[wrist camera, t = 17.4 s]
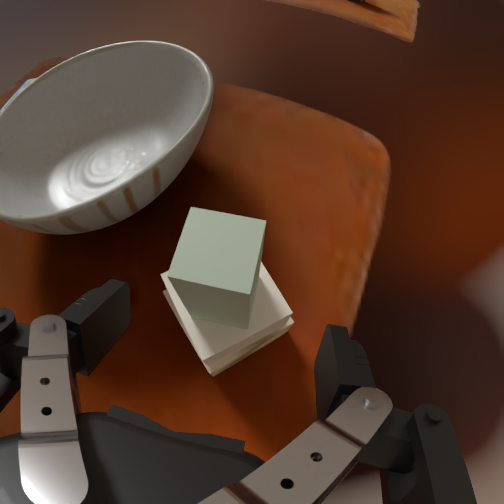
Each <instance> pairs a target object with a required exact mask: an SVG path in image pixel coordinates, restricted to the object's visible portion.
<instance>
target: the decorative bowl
mask: <svg viewBox="0 0 504 504" xmlns="http://www.w3.org/2000/svg"><path fill="white" fill-rule="evenodd" d="M213 92H214V84H213V78H212V74H211V72H210V70H209V68H208V66H207V65H206V63H205V62H204V61H203V60H202V59H201V58H200V57H199V56H198V55H196V54H195V53H193V52H192V51H190V50H188V49H186V48H184V47H181V46H178V45H175V44H171V43H167V42H160V41H129V42H122V43H116V44H111V45H107V46H103V47H99V48H96V49H93V50H90V51H87V52H84V53H82V54H79V55H77V56H75V57H73V58H70V59H68V60H66V61H64V62H62V63H60V64H59V65H57V66H55V67H53V68H52V69H50V70H48V71H47V72H45V73H44V74H42V75H41V76H39V77H38V78H37V79H35V80H34V81H33V82H31V83H30V84H29V85H28V86H27V87H25V88H24V89H23V90H22V91H21V92H20V93H19V94H18V95H17V96H16V97H15V98H14V99H13V100H12V101H11V102H10V103H9V104H8V105H7V106H6V107H5V109H4V110H3V111H2V112H1V113H0V219H1V220H3V221H5V222H7V223H9V224H11V225H14V226H16V227H19V228H23V229H26V230H29V231H34V232H39V233H45V234H59V235H61V234H78V233H85V232H90V231H94V230H98V229H102V228H105V227H108V226H110V225H113V224H115V223H118V222H120V221H122V220H124V219H126V218H128V217H130V216H132V215H133V214H135V213H136V212H138V211H140V210H141V209H143V208H144V207H145V206H147V205H148V204H149V203H151V202H152V201H153V200H154V199H156V198H157V197H158V196H159V195H160V194H161V193H162V192H163V191H164V190H165V189H166V188H167V187H168V186H169V185H170V184H171V183H172V182H173V181H174V179H175V178H176V177H177V176H178V174H179V173H180V172H181V170H182V169H183V168H184V166H185V165H186V163H187V162H188V160H189V158H190V157H191V155H192V153H193V152H194V150H195V148H196V146H197V144H198V142H199V140H200V138H201V135H202V133H203V130H204V128H205V125H206V122H207V119H208V116H209V112H210V109H211V105H212V99H213Z"/></svg>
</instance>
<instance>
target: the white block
mask: <svg viewBox="0 0 504 504" xmlns="http://www.w3.org/2000/svg"><path fill="white" fill-rule="evenodd" d="M168 272H169V271H167V272H164V273H162V274H160V275H161V277H162V279H163V281H164V283H165V286H166V288H167V290H168V292H169V294H170V296H171V299H172V301H173V303H174V305H175V307H176V309H177V311H178V313H179V315H180V317H181V319H182V321H183V323H184V325H185V328H186V330H187V332H188V334H189V336H190V337H191V339H192V341H193V343H194V345H195V347H196V349H197V351H198V353H199V355H200V357H201V359H202V361H203V362H205V363H206V364H207V365H208V366H209V365H211V364H213V363H215V362H217V361H219V360H221V359H223V358H225V357H227V356H229V355H231V354H233V353H235V352H237V351H239V350H241V349H243V348H245V347H246V346H248V345H250V344H252V343H254V342H256V341H258V340H259V339H261V338H263V337H265V336H267V335H269V334H270V333H272V332H274V331H276V330H278V329H279V328H281V327H283V326H285V325H286V323H287V322H288V320H289V318H290V317H291V315H292V313H293V312H292V311H291V309H290V307H289V306H288V304H287V303H286V301H285V299H284V298H283V296H282V294H281V293H280V291H279V290H278V288H277V286H276V285H275V283H274V281H273V280H272V278H271V277H270V275H269V273H268V272H267V270H266V268H265V267H264V265H263V264H262V262H261V266H260V274H259V279H258V284H257V288H256V293H255V298H254V302H253V307H252V311H251V316H250V321H249V325H248V329H243V328H239V327H234V326H229V325H225V324H220V323H216V322H212V321H207V320H203V319H199V318H194V317H191V316H190V315H189V313H188V311H187V310H186V308H185V306H184V305H183V303H182V301H181V299H180V298H179V296H178V294H177V293H176V291H175V289H174V287H173V286H172V284H171V282H170V280H169V279H168V277H167V275H168Z"/></svg>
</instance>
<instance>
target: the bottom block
mask: <svg viewBox="0 0 504 504" xmlns="http://www.w3.org/2000/svg"><path fill="white" fill-rule="evenodd" d="M162 292H163V294H164V295H165V297H166V299H167V301H168V303H169V305H170V307H171V308H172V310H173V312H174V314H175V316H176V317H177V319H178V321H179V323H180V325H181V326H182V328H183V330H184V332H185V333H186V335H187V337H188V339H189V340H190V342H191V344H192V346H193V347H194V349H195V351H196V352H197V354H198V356H199V357H200V355H199V353H198V351H197V349H196V347H195V345H194V343H193V341H192V339H191V337H190V336H189V334H188V332H187V330H186V328H185V325H184V323H183V321H182V319H181V317H180V315H179V313H178V311H177V309H176V307H175V305H174V303H173V301H172V299H171V296H170V294H169V292H168V290H167V289H166V290H164V291H162ZM293 323H294V321H293V320H292V318H291V317H290V318H289V320H288V322H287V323H286V325H285V326H283V327H281V328H279V329H278V330H276V331H274V332H272V333H270V334H269V335H267V336H265V337H263V338H261V339H259V340H258V341H256V342H254V343H252V344H250V345H248V346H246V347H245V348H243V349H241V350H239V351H237V352H235V353H233V354H231V355H229V356H227V357H225V358H223V359H221V360H219V361H217V362H215V363H213V364H211V365H209V366H208V365H207V364H206V363H205V362H203V361H202V359H201V357H200V359H201V361H202V362H203V364H204V366H205V367H206V369H207V371H208V372H209V374H211V375H212V376H215V375H217V374H219V373H221V372H222V371H224V370H226V369H227V368H229V367H231V366H233V365H234V364H236V363H238V362H239V361H241V360H243V359H244V358H246V357H248V356H249V355H251V354H252V353H254V352H256V351H257V350H259V349H261V348H262V347H264V346H265V345H267V344H269V343H270V342H272V341H273V340H275V339H277V338H278V337H280V336H281V335H283V334H284V333H286V332H287V331H288V330H289V329H290V327H291V326H292V325H293Z"/></svg>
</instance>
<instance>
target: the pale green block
mask: <svg viewBox="0 0 504 504" xmlns="http://www.w3.org/2000/svg"><path fill="white" fill-rule="evenodd" d="M265 227H266V221H265V220H260V219H255V218H250V217H244V216H239V215H234V214H228V213H223V212H217V211H212V210H206V209H201V208H195V207H191V208H190V211H189V214H188V216H187V219H186V222H185V225H184V228H183V231H182V233H181V236H180V239H179V242H178V245H177V248H176V251H175V254H174V257H173V260H172V263H171V266H170V269H169V272H168V275H167V277H168V279H169V280H170V282H171V284H172V286H173V287H174V289H175V291H176V293H177V294H178V296H179V298H180V299H181V301H182V303H183V305H184V306H185V308H186V310H187V311H188V313H189V315H190V316H191V317H194V318H199V319H203V320H207V321H212V322H216V323H220V324H225V325H229V326H234V327H239V328H243V329H248V325H249V321H250V316H251V311H252V307H253V302H254V298H255V293H256V288H257V284H258V279H259V274H260V266H261V258H262V250H263V243H264V235H265Z"/></svg>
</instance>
